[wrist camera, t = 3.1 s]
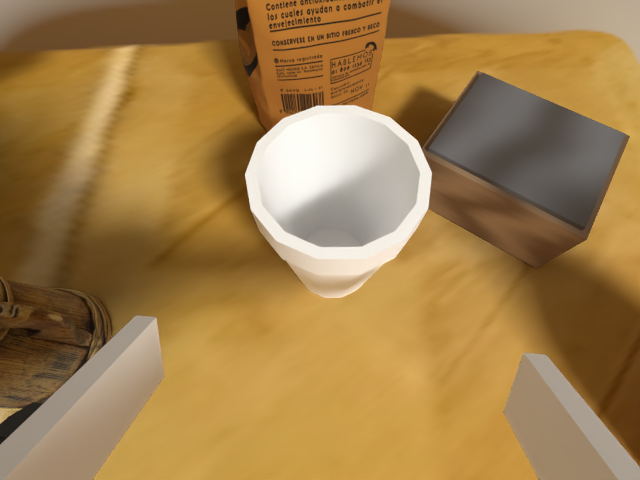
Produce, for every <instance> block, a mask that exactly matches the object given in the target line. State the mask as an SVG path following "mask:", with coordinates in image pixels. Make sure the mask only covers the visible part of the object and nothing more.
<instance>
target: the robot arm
mask: <svg viewBox="0 0 640 480" xmlns="http://www.w3.org/2000/svg"><path fill="white" fill-rule="evenodd" d="M163 378H164V371H163V363H162V356H161V348H160V341H159V333H158V326H157V319H156V317H148V316H138V315H136V316H135V317H134V318H133V319H132V320H131V321H130V322H129V323H127V324H126V325H125V326H124V327H123V328H122V329H121V330H120V331H119V332H118V333H117V334H116V335H115V336H114V337H113V338H112V339H111V340H110V341H109V342H108V343H107V344H105V345H104V346H103V347H102V348H101V349H100V350H99V351H98V352H97V353H96V354H95V355H94V356H93V357H92V358H91V359H90V360H89V361H88V362H87V363H86V364H84V365H83V366H82V367H81V368H80V369H79V370H78V371H77V372H76V373H75V374H74V375H73V376H72V377H71V378H70V379H69V380H68V381H67V382H66V383H65V384H63V385H62V386H61V387H60V388H59V389H58V390H57V391H56V392H55V393H54V394H53V395H52V396H51V397H50V398H49V399H48V400H47V401H46V402H45V403H35V402H32V403H31V404H29V405H27V406H26V407H24V408H22V409H21V410H19V411H18V412H16V413H14V414H13V415H11V416H9V417H8V418H7V419H6V420H5V421H3V422H2V423H1V424H0V480H93V478H94V477H95V475H96V474H97V473H98V471H99V470H100V468H101V467H102V465H103V464H104V462H105V461H106V460H107V458H108V457H109V455H110V454H111V452H112V451H113V450H114V448H115V447H116V445H117V444H118V442H119V441H120V439H121V438H122V437H123V435H124V434H125V432H126V431H127V429H128V428H129V427H130V425H131V424H132V422H133V421H134V419H135V418H136V416H137V415H138V414H139V412H140V411H141V409H142V408H143V406H144V405H145V404H146V402H147V401H148V399H149V398H150V396H151V395H152V394H153V392H154V391H155V389H156V388H157V386H158V385H159V383H160V382H161V381H162V379H163ZM503 413H504V414H505V416H506V418H507V420H508V422H509V424H510V426H511V428H512V430H513V431H514V433H515V435H516V437H517V439H518V441H519V443H520V445H521V447H522V449H523V450H524V452H525V454H526V456H527V458H528V460H529V462H530V464H531V466H532V467H533V469H534V471H535V473H536V475H537V477H538V479H539V480H640V467H639V466H638V464H637V463H636V462H635V461H634V460H633V458H632V457H631V456H630V455H629V454H628V452H627V451H626V450H625V449H624V448H623V446H622V445H621V444H620V443H619V442H618V440H617V439H616V438H615V437H614V436H613V434H612V433H611V432H610V431H609V430H608V428H607V427H606V426H605V425H604V424H603V422H602V421H601V420H600V419H599V418H598V416H597V415H596V414H595V413H594V412H593V410H592V409H591V408H590V407H589V406H588V404H587V403H586V402H585V401H584V400H583V398H582V397H581V396H580V395H579V394H578V392H577V391H576V390H575V389H574V388H573V386H572V385H571V384H570V383H569V382H568V380H567V379H566V378H565V377H564V376H563V374H562V373H561V372H560V371H559V370H558V368H557V367H556V366H555V365H554V364H553V362H552V361H551V360H550V359H549V358H548V356H547V355H543V354H533V353H523V356H522V359H521V362H520V365H519V368H518V370H517V373H516V376H515V379H514V382H513V385H512V388H511V391H510V394H509V397H508V400H507V403H506V406H505V409H504V411H503Z"/></svg>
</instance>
